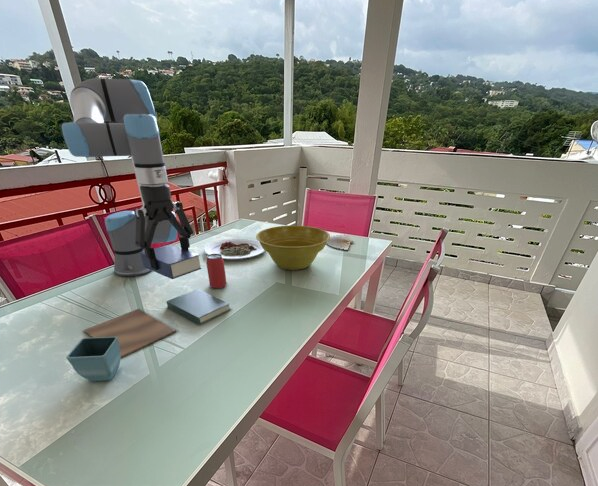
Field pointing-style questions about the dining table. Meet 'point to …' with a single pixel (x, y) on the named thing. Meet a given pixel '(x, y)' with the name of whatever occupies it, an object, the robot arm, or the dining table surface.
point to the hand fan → (339, 242)
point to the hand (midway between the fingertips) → (171, 263)
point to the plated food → (235, 248)
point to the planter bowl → (293, 245)
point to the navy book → (173, 261)
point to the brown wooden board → (132, 331)
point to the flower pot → (96, 358)
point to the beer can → (216, 271)
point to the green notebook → (198, 306)
